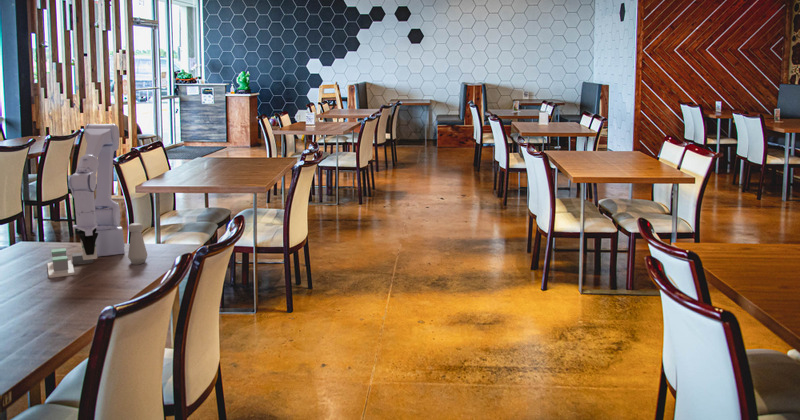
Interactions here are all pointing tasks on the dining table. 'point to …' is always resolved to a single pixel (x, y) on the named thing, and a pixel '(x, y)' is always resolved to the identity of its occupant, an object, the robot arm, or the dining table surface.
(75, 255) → the relay
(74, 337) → the dining table surface
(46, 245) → the dining table surface
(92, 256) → the block
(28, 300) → the dining table surface
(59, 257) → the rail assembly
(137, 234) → the salt shaker
